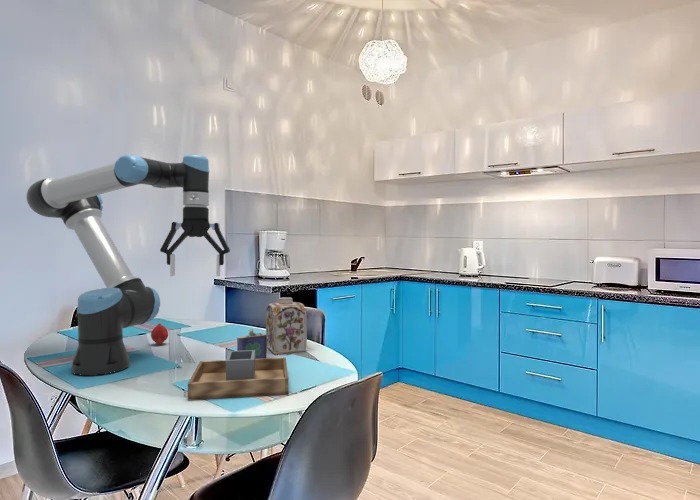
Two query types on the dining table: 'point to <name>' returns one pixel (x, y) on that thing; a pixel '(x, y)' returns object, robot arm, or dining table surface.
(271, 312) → the decorative jar
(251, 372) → the small crate
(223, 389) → the tray
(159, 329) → the onion
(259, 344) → the flask
